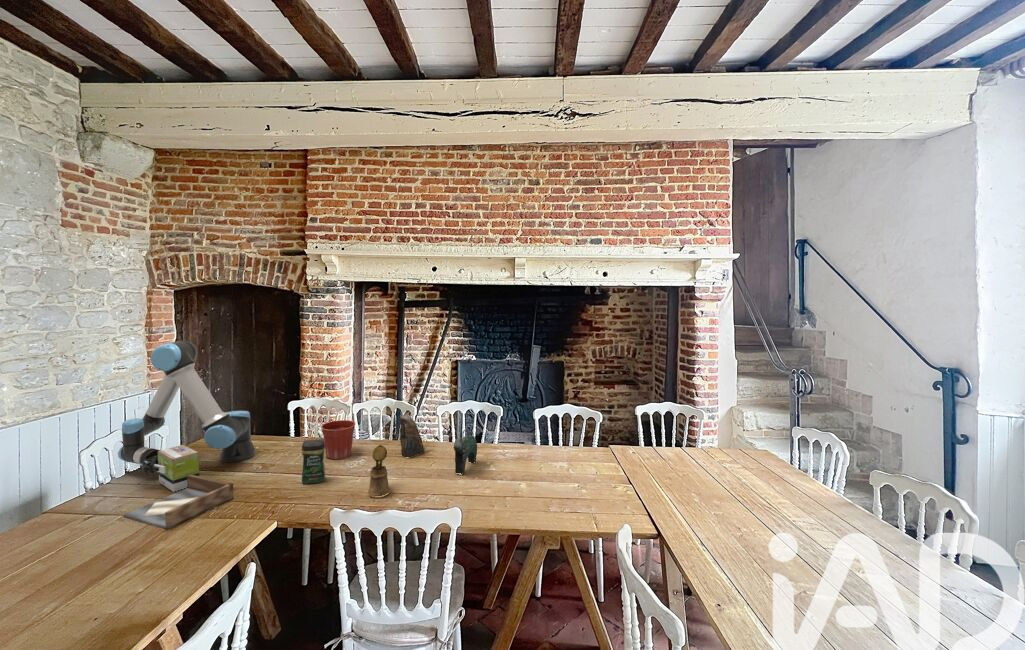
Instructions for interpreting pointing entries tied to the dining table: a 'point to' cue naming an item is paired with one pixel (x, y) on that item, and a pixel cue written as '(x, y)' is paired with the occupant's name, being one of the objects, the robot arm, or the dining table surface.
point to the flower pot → (338, 438)
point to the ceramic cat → (464, 451)
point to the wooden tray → (184, 503)
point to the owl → (410, 437)
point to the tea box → (178, 466)
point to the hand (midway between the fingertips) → (182, 464)
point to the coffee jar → (313, 461)
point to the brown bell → (379, 474)
